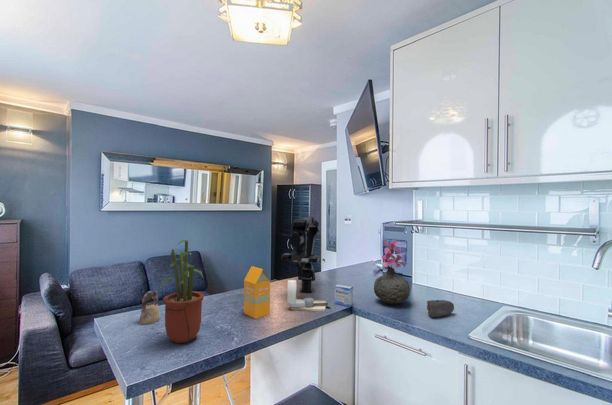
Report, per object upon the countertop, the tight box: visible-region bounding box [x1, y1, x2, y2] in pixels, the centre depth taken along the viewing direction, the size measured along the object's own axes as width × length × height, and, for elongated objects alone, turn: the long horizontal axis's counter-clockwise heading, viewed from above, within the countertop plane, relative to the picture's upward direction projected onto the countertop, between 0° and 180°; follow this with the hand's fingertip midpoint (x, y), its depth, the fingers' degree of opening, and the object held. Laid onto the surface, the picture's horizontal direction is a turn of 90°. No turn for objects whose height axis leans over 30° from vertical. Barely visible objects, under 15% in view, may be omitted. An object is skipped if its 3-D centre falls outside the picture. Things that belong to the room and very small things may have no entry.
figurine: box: [139, 290, 161, 325], centre depth 117 cm, size 7×7×12 cm
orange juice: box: [243, 265, 271, 319], centre depth 126 cm, size 8×9×20 cm
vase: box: [373, 240, 411, 306], centre depth 143 cm, size 17×17×30 cm
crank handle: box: [286, 279, 329, 307], centre depth 134 cm, size 19×4×12 cm, turn 100°
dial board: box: [290, 298, 333, 313], centre depth 136 cm, size 12×19×1 cm, turn 84°
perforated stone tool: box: [426, 299, 455, 318], centre depth 128 cm, size 15×5×7 cm, turn 109°
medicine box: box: [334, 284, 354, 308], centre depth 140 cm, size 8×4×9 cm, turn 62°
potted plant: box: [155, 239, 205, 344], centre depth 103 cm, size 17×16×35 cm
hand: (300, 274), depth 148 cm, fingers closed
